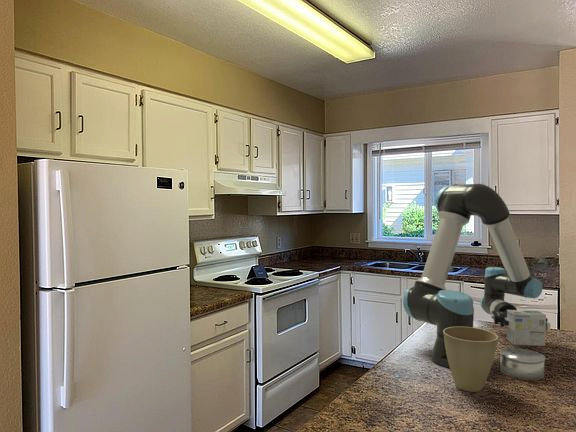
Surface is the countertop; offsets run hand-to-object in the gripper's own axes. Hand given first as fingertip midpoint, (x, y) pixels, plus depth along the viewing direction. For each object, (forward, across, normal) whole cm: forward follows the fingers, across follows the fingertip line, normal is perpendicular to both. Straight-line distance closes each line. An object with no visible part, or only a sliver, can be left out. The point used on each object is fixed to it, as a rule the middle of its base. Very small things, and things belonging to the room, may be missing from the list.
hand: (531, 326), depth 150 cm
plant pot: (+20, +27, -13) cm, 36 cm away
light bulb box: (-4, 0, -7) cm, 8 cm away
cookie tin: (+8, +6, -13) cm, 16 cm away
